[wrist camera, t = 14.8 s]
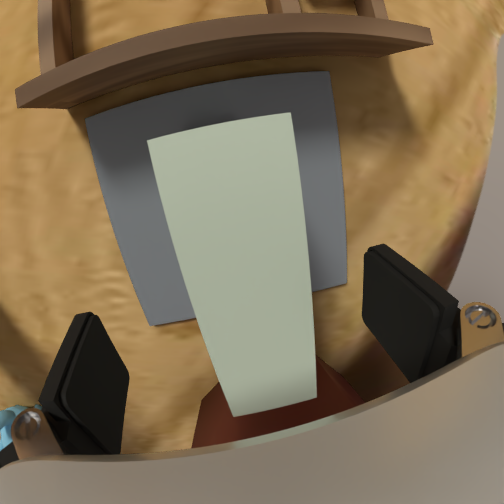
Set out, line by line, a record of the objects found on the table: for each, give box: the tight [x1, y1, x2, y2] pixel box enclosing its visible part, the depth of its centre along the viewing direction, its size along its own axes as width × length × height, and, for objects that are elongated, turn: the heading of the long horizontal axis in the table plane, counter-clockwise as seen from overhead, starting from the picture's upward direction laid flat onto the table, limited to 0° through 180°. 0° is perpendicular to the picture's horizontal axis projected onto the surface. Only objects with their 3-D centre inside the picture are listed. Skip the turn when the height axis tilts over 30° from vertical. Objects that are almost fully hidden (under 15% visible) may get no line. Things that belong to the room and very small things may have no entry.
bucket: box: [191, 355, 365, 449], centre depth 21 cm, size 24×22×25 cm
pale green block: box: [147, 112, 317, 417], centre depth 16 cm, size 12×4×13 cm, turn 10°
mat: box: [85, 71, 347, 326], centre depth 22 cm, size 18×18×1 cm
